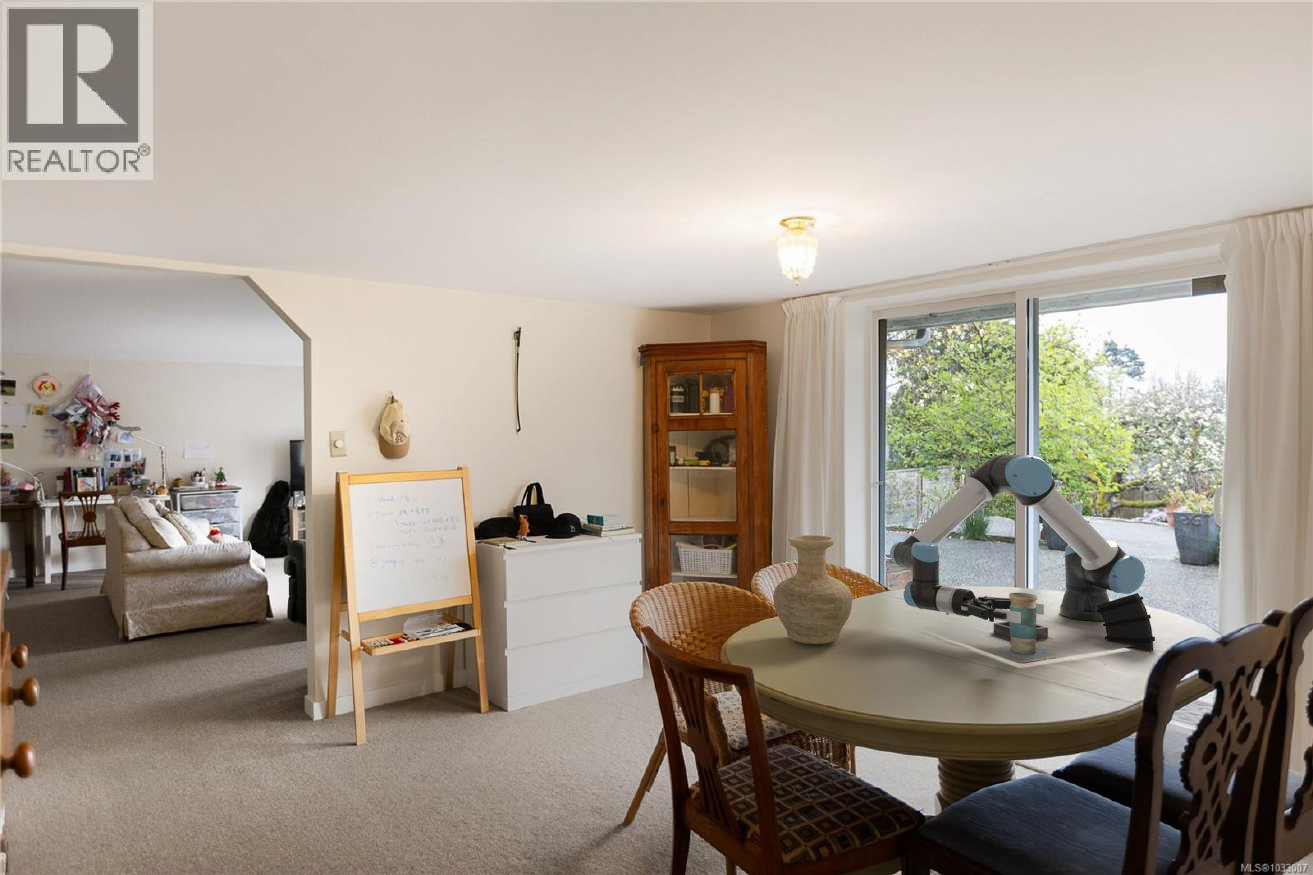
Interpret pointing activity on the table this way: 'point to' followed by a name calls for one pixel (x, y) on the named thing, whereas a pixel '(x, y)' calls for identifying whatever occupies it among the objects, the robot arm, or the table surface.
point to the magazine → (1128, 622)
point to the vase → (812, 595)
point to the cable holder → (1004, 631)
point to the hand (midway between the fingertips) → (1032, 613)
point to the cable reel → (1023, 623)
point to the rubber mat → (1024, 656)
